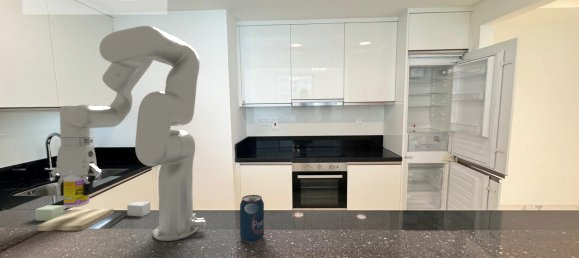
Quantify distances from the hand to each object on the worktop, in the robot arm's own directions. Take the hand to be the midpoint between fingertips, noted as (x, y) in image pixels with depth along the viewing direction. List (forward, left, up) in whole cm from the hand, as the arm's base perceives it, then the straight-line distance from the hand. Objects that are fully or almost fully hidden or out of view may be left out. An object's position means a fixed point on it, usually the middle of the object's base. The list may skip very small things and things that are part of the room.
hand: (77, 194), depth 82 cm
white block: (-17, -6, -10) cm, 20 cm away
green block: (+12, -3, -10) cm, 16 cm away
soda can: (-61, +14, -10) cm, 63 cm away
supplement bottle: (0, 0, -4) cm, 4 cm away
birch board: (0, 0, -9) cm, 9 cm away
